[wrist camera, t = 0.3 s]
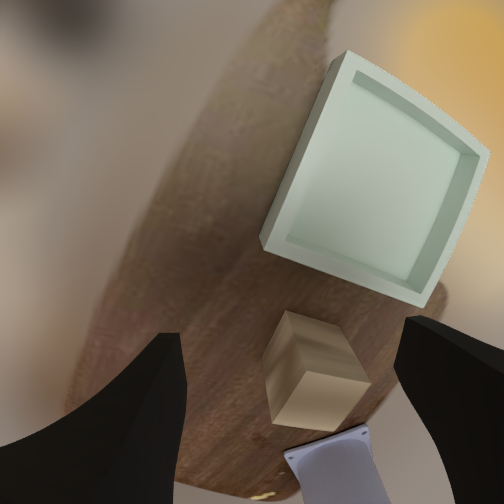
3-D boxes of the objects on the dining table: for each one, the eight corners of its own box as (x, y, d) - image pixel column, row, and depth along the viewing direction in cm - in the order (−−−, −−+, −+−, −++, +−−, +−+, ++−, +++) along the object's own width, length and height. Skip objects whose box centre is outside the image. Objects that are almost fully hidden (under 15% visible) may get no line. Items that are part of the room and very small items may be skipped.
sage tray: (405, 292, 20) (423, 308, 18) (258, 235, 18) (263, 249, 16) (466, 149, 17) (490, 152, 15) (332, 61, 15) (347, 49, 13)
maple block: (311, 370, 22) (334, 431, 16) (261, 358, 21) (271, 423, 15) (338, 325, 20) (371, 383, 15) (285, 310, 20) (306, 370, 14)
